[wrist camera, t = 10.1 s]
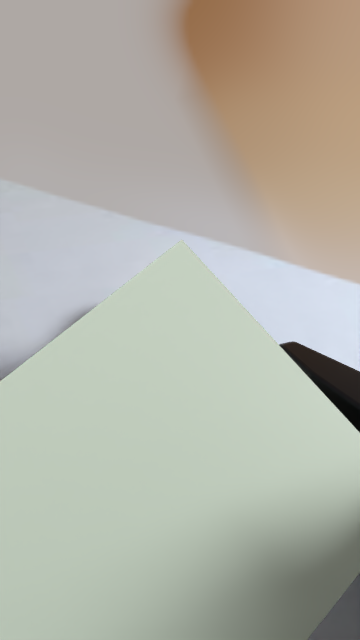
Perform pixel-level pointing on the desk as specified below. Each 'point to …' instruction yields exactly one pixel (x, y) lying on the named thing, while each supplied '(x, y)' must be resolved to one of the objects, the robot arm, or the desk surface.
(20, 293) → the desk surface
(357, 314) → the desk surface
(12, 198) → the desk surface
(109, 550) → the sage block
